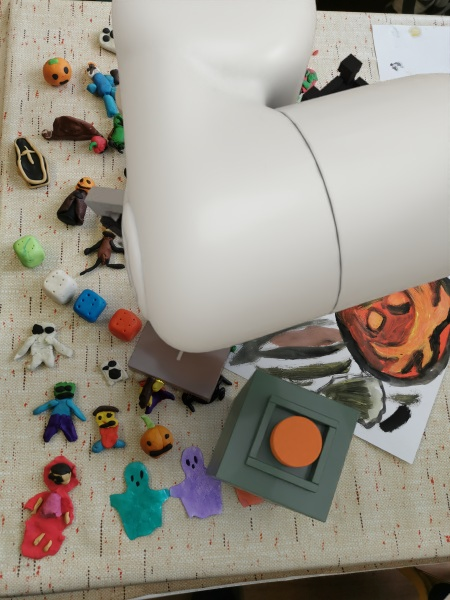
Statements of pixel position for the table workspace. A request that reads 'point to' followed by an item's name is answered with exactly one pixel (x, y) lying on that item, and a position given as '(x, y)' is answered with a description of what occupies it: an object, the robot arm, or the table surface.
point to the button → (296, 441)
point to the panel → (177, 364)
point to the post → (258, 455)
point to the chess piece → (339, 80)
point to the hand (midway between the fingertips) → (198, 278)
